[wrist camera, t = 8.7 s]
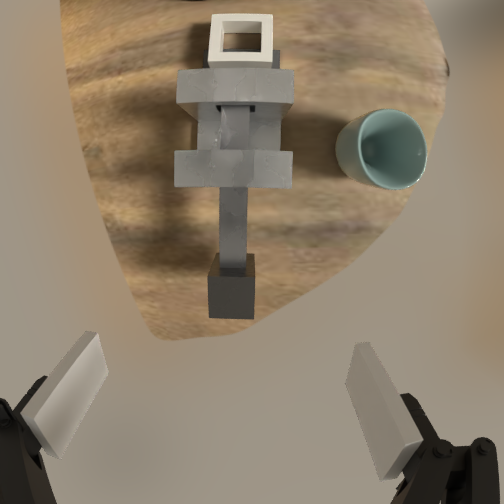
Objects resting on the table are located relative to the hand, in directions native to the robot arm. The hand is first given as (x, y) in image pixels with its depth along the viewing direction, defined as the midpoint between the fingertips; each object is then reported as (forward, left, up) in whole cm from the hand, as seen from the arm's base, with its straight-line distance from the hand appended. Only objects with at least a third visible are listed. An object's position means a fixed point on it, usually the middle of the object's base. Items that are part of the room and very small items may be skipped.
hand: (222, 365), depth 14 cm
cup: (-15, +11, -23) cm, 30 cm away
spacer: (-24, -7, -21) cm, 33 cm away
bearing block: (-12, -3, -23) cm, 26 cm away
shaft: (-6, -2, -19) cm, 20 cm away
